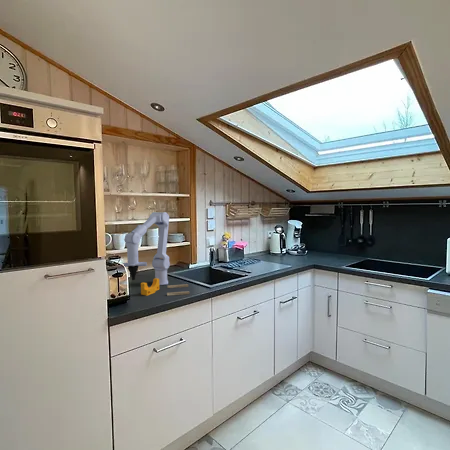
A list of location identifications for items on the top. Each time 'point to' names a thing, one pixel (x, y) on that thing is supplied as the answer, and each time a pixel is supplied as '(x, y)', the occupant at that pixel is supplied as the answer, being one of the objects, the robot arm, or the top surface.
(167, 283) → the robot arm
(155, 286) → the pipe clamp
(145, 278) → the top surface
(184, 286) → the rail channel
